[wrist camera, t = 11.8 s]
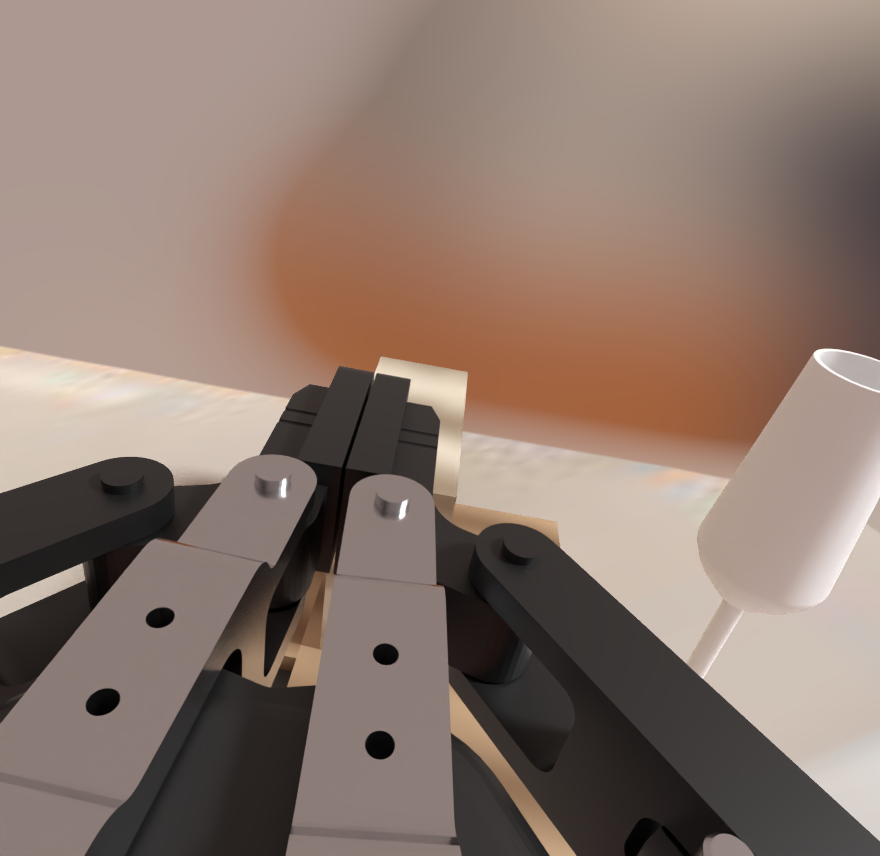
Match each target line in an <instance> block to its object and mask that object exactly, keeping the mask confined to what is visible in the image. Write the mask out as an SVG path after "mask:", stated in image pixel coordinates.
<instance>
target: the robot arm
mask: <svg viewBox="0 0 880 856" xmlns="http://www.w3.org/2000/svg"><path fill="white" fill-rule="evenodd" d="M410 383H411V379H408V378H403V377H397V376H392V375H386V374H381V373H377V374H376V377H375V380H374V372H369V371H363V370H357V369H353V368H347V367H342V366H339V368H338V370H337V372H336V374H335V376H334V379H333V381H332V383H331V385H330V387H329V388H327V387H321V386H316V385H311V384H310V385H308V386H307V387H305V388H303V389H301V390H300V391H298V392H296V393H295V394H293V396H292V397H291V399H290V401H289V403H288V405H287V406H286V409H285V411H284V412H283V414H282V415H281V417H280V420H279V422H278V423H277V424H276V426H275V428H274V430H273V432H272V433H271V435H270V437H269V439H268V441H267V442H266V444H265V446H264V448H263V450H262V451H261V453H260V455H259V456H255V457H251V458H248V459H246V460H244V461H242V462H240V463H238V464H237V465H236V466H235V467H234V468H233V469H232V470H231V471H230V472H229V474H228V475H227V476H226V478H225V479H224V480H223V482H222V483H218V484H211V485H193V486H174V480H173V475H172V473H171V471H170V470H169V469H168V468H167V467H166V466H164V465H163V464H161V463H159V462H157V461H154V460H151V459H147V458H141V457H119V458H113V459H108V460H104V461H101V462H97V463H94V464H91V465H88V466H85V467H82V468H79V469H76V470H72V471H69V472H66V473H63V474H60V475H57V476H54V477H50V478H47V479H44V480H41V481H38V482H35V483H32V484H28V485H25V486H22V487H19V488H16V489H13V490H10V491H7V492H3V493H0V598H2V597H4V596H6V595H8V594H10V593H12V592H15V591H17V590H19V589H22V588H24V587H27V586H29V585H31V584H34V583H36V582H38V581H41V580H43V579H45V578H48V577H50V576H53V575H55V574H57V573H60V572H62V571H64V570H67V569H69V568H72V567H74V566H76V565H79V564H81V563H83V568H84V575H85V581H83V582H80V583H78V584H76V585H74V586H71V587H69V588H67V589H65V590H62V591H60V592H58V593H56V594H53V595H51V596H49V597H47V598H44V599H42V600H40V601H37V602H35V603H33V604H31V605H28V606H26V607H24V608H22V609H19V610H17V611H15V612H13V613H10V614H8V615H6V616H4V617H1V618H0V856H550V855H549V854H548V852H547V851H546V849H545V848H544V846H543V845H542V843H541V842H540V840H539V839H538V837H537V836H536V834H535V833H534V831H533V830H532V828H531V827H530V825H529V824H528V822H527V821H526V819H525V818H524V816H523V815H522V813H521V812H520V810H519V809H518V807H517V806H516V804H515V803H514V801H513V800H512V798H511V797H510V795H509V794H508V792H507V791H506V789H505V788H504V786H503V785H502V784H501V782H500V781H499V779H498V778H497V777H496V775H495V774H494V773H493V771H492V770H491V769H490V768H489V767H488V766H487V764H486V763H485V762H484V761H483V760H482V759H481V757H480V756H479V755H478V754H476V753H475V752H474V751H473V750H472V749H471V748H470V747H469V746H468V745H467V744H466V743H464V742H463V741H461V740H460V739H459V738H457V737H456V736H455V735H453V734H452V733H451V725H450V699H449V684H450V685H451V687H452V688H453V689H454V691H455V692H456V693H457V695H458V696H459V698H460V699H461V700H462V702H463V703H464V704H465V706H466V707H467V708H468V710H469V711H470V712H471V714H472V715H473V716H474V718H475V719H476V720H477V722H478V723H479V725H480V726H481V727H482V729H483V730H484V731H485V733H486V734H487V735H488V737H489V738H490V739H491V741H492V742H493V743H494V745H495V746H496V748H497V749H498V750H499V752H500V753H501V754H502V756H503V757H504V758H505V760H506V761H507V762H508V764H509V765H510V766H511V768H512V769H513V770H514V772H515V773H516V775H517V776H518V777H519V779H520V780H521V781H522V783H523V784H524V785H525V787H526V788H527V789H528V791H529V792H530V793H531V795H532V796H533V798H534V799H535V800H536V802H537V803H538V804H539V806H540V807H541V808H542V810H543V811H544V812H545V814H546V815H547V816H548V818H549V819H550V821H551V822H552V823H553V825H554V826H555V827H556V829H557V830H558V831H559V833H560V834H561V835H562V837H563V838H564V839H565V841H566V842H567V843H568V845H569V846H570V848H571V849H572V850H573V852H574V853H575V854H576V856H880V841H879V840H878V839H876V838H875V837H874V836H873V835H872V834H871V833H870V832H869V831H868V830H867V829H866V828H864V827H863V826H862V825H861V824H860V823H859V822H858V821H857V820H856V819H855V818H854V817H852V816H851V815H850V814H849V813H848V812H847V811H846V810H845V809H844V808H843V807H842V806H841V805H839V804H838V803H837V802H836V801H835V800H834V799H833V798H832V797H831V796H830V795H829V794H827V793H826V792H825V791H824V790H823V789H822V788H821V787H820V786H819V785H818V784H817V783H815V782H814V781H813V780H812V779H811V778H810V777H809V776H808V775H807V774H806V773H805V772H803V771H802V770H801V769H800V768H799V767H798V766H797V765H796V764H795V763H794V762H793V761H792V760H790V759H789V758H788V757H787V756H786V755H785V754H784V753H783V752H782V751H781V750H780V749H778V748H777V747H776V746H775V745H774V744H773V743H772V742H771V741H770V740H769V739H768V738H766V737H765V736H764V735H763V734H762V733H761V732H760V731H759V730H758V729H757V728H756V727H754V726H753V725H752V724H751V723H750V722H749V721H748V720H747V719H746V718H745V717H744V716H743V715H741V714H740V713H739V712H738V711H737V710H736V709H735V708H734V707H733V706H732V705H731V704H729V703H728V702H727V701H726V700H725V699H724V698H723V697H722V696H721V695H720V694H719V693H717V692H716V691H715V690H714V689H713V688H712V687H711V686H710V685H709V684H708V683H707V682H705V681H704V680H703V679H702V678H701V677H700V676H699V675H698V674H697V673H696V672H695V671H694V670H692V669H691V668H690V667H689V666H688V665H687V664H686V663H685V662H684V661H683V660H682V659H680V658H679V657H678V656H677V655H676V654H675V653H674V652H673V651H672V650H671V649H670V648H668V647H667V646H666V645H665V644H664V643H663V642H662V641H661V640H660V639H659V638H658V637H656V636H655V635H654V634H653V633H652V632H651V631H650V630H649V629H648V628H647V627H646V626H645V625H643V624H642V623H641V622H640V621H639V620H638V619H637V618H636V617H635V616H634V615H633V614H631V613H630V612H629V611H628V610H627V609H626V608H625V607H624V606H623V605H622V604H621V603H619V602H618V601H617V600H616V599H615V598H614V597H613V596H612V595H611V594H610V593H609V592H607V591H606V590H605V589H604V588H603V587H602V586H601V585H600V584H599V583H598V582H597V581H596V580H594V579H593V578H592V577H591V576H590V575H589V574H588V573H587V572H586V571H585V570H584V569H582V568H581V567H580V566H579V565H578V564H577V563H576V562H575V561H574V560H573V559H572V558H570V557H569V556H568V555H567V554H566V553H565V552H564V551H563V550H562V549H561V548H560V547H558V546H557V545H556V544H555V543H554V542H553V541H552V540H551V539H550V538H548V537H547V536H546V535H544V534H543V533H541V532H539V531H537V530H535V529H533V528H530V527H528V526H524V525H520V524H515V523H499V524H495V525H491V526H489V527H487V528H485V529H484V530H482V531H481V533H480V534H479V535H476V534H473V533H471V532H468V531H466V530H464V529H462V528H460V527H457V526H456V525H454V524H453V523H451V522H450V521H448V520H447V519H446V518H445V517H444V516H443V515H442V514H441V513H440V512H439V511H438V509H437V508H436V506H435V504H434V500H433V487H434V478H435V468H436V458H437V448H438V439H439V438H438V437H439V429H440V419H439V418H438V416H437V414H436V413H435V411H434V409H433V408H432V406H427V405H422V404H416V403H411V402H407V401H408V395H409V389H410ZM335 552H336V555H335ZM334 556H335V563H334V571H333V574H335V577H334V582H333V588H332V594H331V600H330V606H329V612H328V617H327V623H326V629H325V635H324V641H323V647H322V653H321V659H320V664H319V670H318V676H317V682H316V685H311V686H296V687H282V688H271V686H272V684H273V681H274V679H275V676H276V674H277V672H278V669H279V667H280V665H281V662H282V660H283V658H284V655H285V653H286V650H287V648H288V646H289V643H290V641H291V639H292V636H293V634H294V631H295V629H296V627H297V624H298V622H299V620H300V617H301V615H302V613H303V610H304V608H305V604H306V595H307V591H308V590H309V588H310V585H311V583H312V579H313V576H314V573H315V571H319V572H325V573H330V570H331V566H332V563H333V559H334Z"/></svg>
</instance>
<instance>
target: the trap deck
mask: <svg viewBox="0 0 880 856" xmlns="http://www.w3.org/2000/svg"><path fill="white" fill-rule="evenodd" d="M451 523H453V524H454V525H456V526H457V527H460V528H462V529H464V530H466V531H468V532H471V533H473V534H476V535H479V534H480V533H481V531H482V530H484V529H485V528H487V527H489V526H491V525H495V524H499V523H515V524H520V525H524V526H528V527H530V528H533V529H535V530H537V531H539V532H541V533H543V534H544V535H546V536H547V537H548V538H550V539H551V540H552V541H553V542H554V543H555V544H556V545H557V546H558V547H560V543H559V536H558V528H557V522H555V521H550V520H544V519H538V518H533V517H527V516H521V515H516V514H510V513H505V512H499V511H493V510H488V509H482V508H477V507H471V506H465V505H460V504H455V506H454V510H453V515H452V519H451ZM326 574H327V573H325V572H319V571H315V573H314V576H313V579H312V583H311V585H310V588H309V590H308V591H307V595H306V604H305V608H304V610H303V613H302V615H301V617H300V620H299V622H298V624H297V627H296V629H295V631H294V634H293V636H292V639H291V641H290V643H289V646H288V648H287V650H286V653H285V655H284V658H283V660H282V662H281V665H280V667H279V669H278V672H277V674H276V676H275V679H274V681H273V684H272V686H271V688H282V687H296V686H311V685H316V682H317V676H318V670H319V664H320V659H321V653H322V650H320V638H321V627H322V617H323V606H324V595H325V584H326ZM449 699H450V725H451V733H452V734H453V735H455V736H456V737H457V738H459V739H460V740H461V741H463V742H464V743H466V744H467V745H468V746H469V747H470V748H471V749H472V750H473V751H474V752H475V753H476V754H478V755H479V756H480V757H481V759H482V760H483V761H484V762H485V763H486V764H487V766H488V767H489V768H490V769H491V770H492V771H493V773H494V774H495V775H496V777H497V778H498V779H499V781H500V782H501V784H502V785H503V786H504V788H505V789H506V791H507V792H508V794H509V795H510V797H511V798H512V800H513V801H514V803H515V804H516V806H517V807H518V809H519V810H520V812H521V813H522V815H523V816H524V818H525V819H526V821H527V822H528V824H529V825H530V827H531V828H532V830H533V831H534V833H535V834H536V836H537V837H538V839H539V840H540V842H541V843H542V845H543V846H544V848H545V849H546V851H547V852H548V854H549V855H550V856H576V854H575V853H574V852H573V850H572V849H571V848H570V846H569V845H568V843H567V842H566V841H565V839H564V838H563V837H562V835H561V834H560V833H559V831H558V830H557V829H556V827H555V826H554V825H553V823H552V822H551V821H550V819H549V818H548V816H547V815H546V814H545V812H544V811H543V810H542V808H541V807H540V806H539V804H538V803H537V802H536V800H535V799H534V798H533V796H532V795H531V793H530V792H529V791H528V789H527V788H526V787H525V785H524V784H523V783H522V781H521V780H520V779H519V777H518V776H517V775H516V773H515V772H514V770H513V769H512V768H511V766H510V765H509V764H508V762H507V761H506V760H505V758H504V757H503V756H502V754H501V753H500V752H499V750H498V749H497V748H496V746H495V745H494V743H493V742H492V741H491V739H490V738H489V737H488V735H487V734H486V733H485V731H484V730H483V729H482V727H481V726H480V725H479V723H478V722H477V720H476V719H475V718H474V716H473V715H472V714H471V712H470V711H469V710H468V708H467V707H466V706H465V704H464V703H463V702H462V700H461V699H460V698H459V696H458V695H457V693H456V692H455V691H454V689H453V688H452V687H451V685H450V684H449Z"/></svg>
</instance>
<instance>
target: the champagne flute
mask: <svg viewBox="0 0 880 856" xmlns="http://www.w3.org/2000/svg"><path fill="white" fill-rule="evenodd" d="M879 497H880V360H877V359H874V358H871V357H868V356H864V355H861V354H857V353H853V352H849V351H843V350H836V349H821V350H817V351H815V352H814V354H813V355H812V357H811V358H810V360H809V361H808V363H807V364H806V366H805V367H804V369H803V370H802V372H801V374H800V375H799V376H798V378H797V380H796V381H795V383H794V384H793V386H792V387H791V389H790V390H789V392H788V393H787V395H786V396H785V398H784V399H783V401H782V402H781V404H780V405H779V407H778V408H777V410H776V411H775V413H774V414H773V416H772V418H771V419H770V421H769V422H768V424H767V425H766V426H765V428H764V430H763V431H762V433H761V434H760V436H759V437H758V439H757V440H756V442H755V443H754V445H753V446H752V448H751V449H750V451H749V452H748V454H747V455H746V457H745V458H744V460H743V461H742V463H741V464H740V466H739V467H738V469H737V471H736V472H735V473H734V475H733V477H732V478H731V480H730V481H729V483H728V484H727V486H726V487H725V489H724V490H723V492H722V493H721V495H720V496H719V498H718V499H717V501H716V502H715V504H714V505H713V507H712V508H711V510H710V511H709V513H708V514H707V516H706V517H705V519H704V520H703V522H702V524H701V525H700V527H699V531H698V537H697V543H698V550H699V555H700V559H701V562H702V565H703V568H704V570H705V572H706V574H707V576H708V577H709V579H710V580H711V582H712V584H713V585H714V587H715V588H716V590H717V591H718V593H719V594H720V595H721V597H722V598H723V601H722V602H721V604H720V606H719V608H718V609H717V611H716V613H715V615H714V616H713V618H712V620H711V622H710V623H709V625H708V627H707V629H706V630H705V632H704V634H703V636H702V637H701V639H700V641H699V642H698V644H697V646H696V648H695V649H694V651H693V653H692V655H691V656H690V658H689V660H688V662H687V663H686V664H687V665H688V666H689V667H690V668H691V669H692V670H694V671H695V672H696V673H697V674H698V675H699V676H700V677H701V678H702V679H703V678H704V676H705V674H706V673H707V671H708V669H709V668H710V666H711V664H712V663H713V661H714V660H715V658H716V656H717V655H718V653H719V651H720V650H721V648H722V646H723V645H724V643H725V641H726V640H727V638H728V637H729V635H730V633H731V632H732V630H733V628H734V627H735V625H736V623H737V622H738V620H739V618H740V617H741V615H742V614H743V612H744V611H746V612H751V613H762V614H772V615H782V614H789V613H795V612H799V611H803V610H806V609H809V608H812V607H814V606H816V605H817V604H819V603H821V602H822V601H823V600H824V599H826V597H827V596H828V595H829V593H830V591H831V590H832V588H833V586H834V584H835V582H836V580H837V578H838V576H839V574H840V572H841V570H842V568H843V567H844V565H845V563H846V561H847V559H848V557H849V555H850V553H851V551H852V549H853V547H854V545H855V543H856V542H857V540H858V538H859V536H860V534H861V532H862V530H863V528H864V526H865V524H866V522H867V520H868V518H869V517H870V515H871V513H872V510H873V509H874V507H875V505H876V503H877V501H878V499H879Z"/></svg>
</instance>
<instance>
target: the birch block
mask: <svg viewBox="0 0 880 856" xmlns="http://www.w3.org/2000/svg"><path fill="white" fill-rule="evenodd" d="M377 373H381V374H386V375H392V376H397V377H403V378H408V379H411V383H410V389H409V395H408V401H407V402H411V403H416V404H422V405H427V406H432V408H433V409H434V411H435V413H436V414H437V416H438V418H439V419H440V429H439V437H438V438H439V439H438V448H437V458H436V468H435V478H434V487H433V500H434V504H435V506H436V508H437V509H438V511H439V512H440V513H441V514H442V515H443V516H444V517H445V518H446V519H447V520H448V521H450V522H451V519H452V515H453V510H454V506H455V502H456V497H457V486H458V475H459V464H460V453H461V442H462V431H463V420H464V419H463V418H464V408H465V397H466V386H467V375H468V373H467V372H464V371H458V370H453V369H447V368H442V367H436V366H431V365H425V364H420V363H414V362H409V361H404V360H398V359H393V358H387V357H381V358H380V361H379V363H378V366H377V369H376V372H375V374H374V380H375V377H376V374H377ZM335 555H336V552H335ZM334 563H335V556H334V559H333V563H332V566H331V570H330V573H327V574H326V584H325V595H324V606H323V617H322V627H321V638H320V650H322V647H323V641H324V635H325V629H326V623H327V617H328V612H329V606H330V600H331V594H332V588H333V582H334V577H335V574H333V571H334Z"/></svg>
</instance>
